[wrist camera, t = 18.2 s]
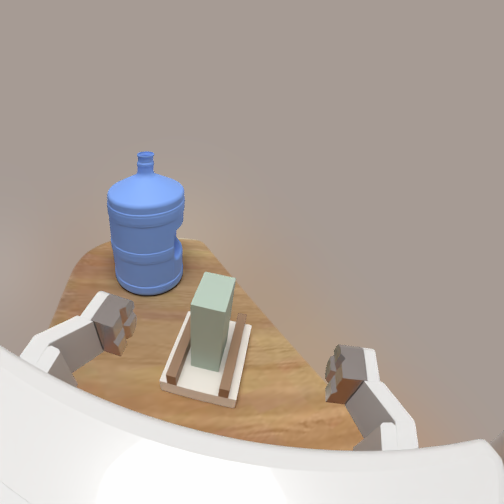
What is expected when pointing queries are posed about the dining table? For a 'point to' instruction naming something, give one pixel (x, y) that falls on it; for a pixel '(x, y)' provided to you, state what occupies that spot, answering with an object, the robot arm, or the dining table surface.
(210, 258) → the dining table surface
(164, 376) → the cleat board
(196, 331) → the sage cabinet
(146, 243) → the water jug
